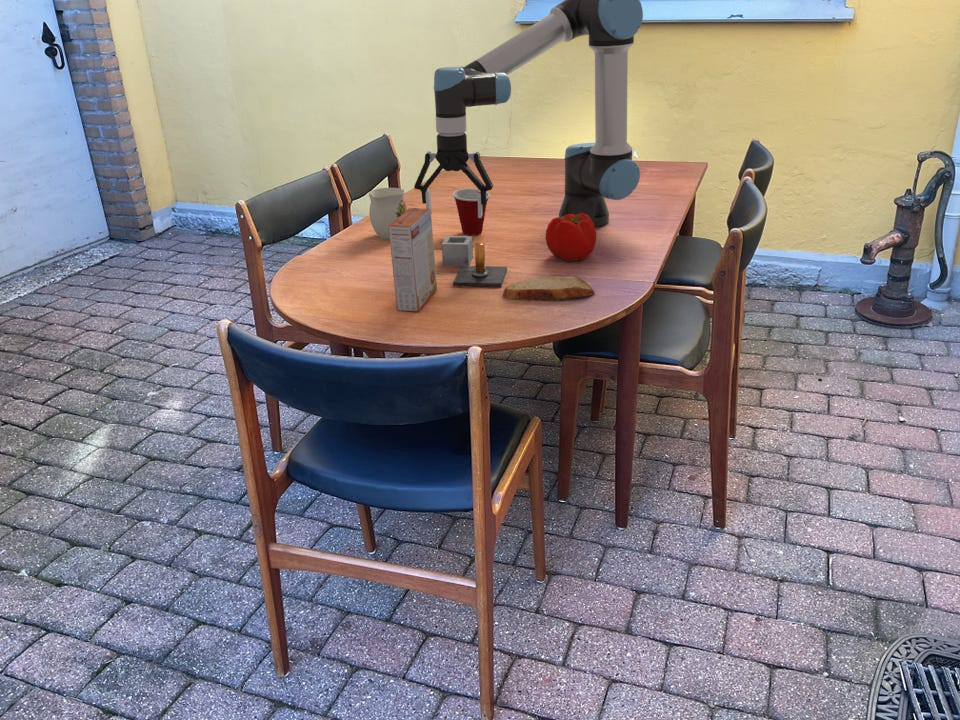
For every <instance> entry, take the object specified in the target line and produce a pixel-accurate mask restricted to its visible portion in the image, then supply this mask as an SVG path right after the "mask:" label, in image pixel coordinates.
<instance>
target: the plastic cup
mask: <svg viewBox="0 0 960 720" xmlns="http://www.w3.org/2000/svg"><path fill="white" fill-rule="evenodd" d="M478 192H479V189H478V188H462V189H458V190H454V191H453V192H452V195H453V196H452V197H453V198H454V201H455V204H456V208H457V213H458V219H459V223H460V226H461V227H460V228H461V232H462V234H463V235H464V236H472V237H473V236H479V235H481V234H482V233H483V229H484V222H485V216H486V215H485V214H486V209H487V205H488V203H487V202H488V201H489V198H490V197H491V194H490V193H489V192H488V191H486V203H485V205H482V210H483V215H482V217H481V218H478Z"/></svg>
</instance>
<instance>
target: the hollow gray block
mask: <svg viewBox="0 0 960 720" xmlns="http://www.w3.org/2000/svg"><path fill="white" fill-rule="evenodd" d="M473 246H474V245H473V235H472V236H471V235H446V236H445V238H444V239H443V241H442V243H441V255H442V257H441V259H442V266H443V267H445V266H446V267H448V266H449V267H461V266H471V265H470V264H471V262H472V261H473V259H474V250H473V248H474V247H473Z"/></svg>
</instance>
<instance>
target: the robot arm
mask: <svg viewBox="0 0 960 720" xmlns="http://www.w3.org/2000/svg"><path fill="white" fill-rule="evenodd" d="M643 11H644V10H643V7H642V3H641V0H563V1H562V2H560V3H559V4H557V5H555V6H554V7H551V9H550V11H549V15H547V16H545V17H542V18H541V19H540V20H539V21H537V22H535V23H534V24H532V25H530V26H529V27H527V28H526V29H524V30H522V31H521V32H519V33H517V34H516V35H514V36H512V37H511V38H509V39H508V40H506V41H505V42H503V43H501V44H500V45H498V46H497V47H495V48H493V49H491V50H490V51H488V52H486V53H485V54H483V55H482V56H480V57H479V58H477V59H475V60H473V61H472V62H470V63H468V64H467V65H464V66H447V67H446V66H445V67H438V68H437V69H436V70H435V71H434V73H433V91H434V103H435V105H434V106H435V107H434V108H435V129H436V131H435V132H437V135H436V151H437V152H436V153H433V152H431V151H427V152H426V153H425V154H424V163H423V165H422V167H421V169H420V172H419V174H418V177H417V179H416V181H415V184H414V185H413V186H414V187H413V188H414V190H419V191H420V192H421V202H422V204H425V207H426V208H425V209H431V215H432V214H433V213H432V193H431V189H428V188H429V187H430V186H431V185H432V183H433V182H434V181H435V180H436V178H437V177H438V175H439V174H441V171H443V170H444V171H446V172H452V171H453V172H459V171H461V172H462V173H464V174H465V175H466V176H467V178H469V180H470V181H471V182H472V184H474V186H475V187H476V189H478V190H479V192H478V218H481V217H482V215H483V210H482V205H485V203H486V192H488V191H491V190H492V189H493V187H494V184H493V181H492V180H491V178H490V176H489V173H488V172H487V170H486V168H485V166H484V164H483V162H482V160H481V155H480V152H479V151H476V152H473V153H469V152H468V141H467V138H468V137H467V136H468V135H467V134H466V133H465V132H467V108H470V107H480V106H491V105H495V106H497V105H499V104H500V105H501V104H505V103H507V102H509V100H510V98H511V96H512V95H511V94H512V83H511V80H510V77H509V76H508V75H510V74H512V73H513V72H515V71H516V70H518V69H520V68H522V66H524V65H526V64H527V63H529V62H531V61H533V60H535V59H536V58H537V57H539V56H541V55H542V54H544V53H546V52H547V51H549V50H551V49H552V48H554V47H556V46H557V45H558V44H560V43H562V42H564V43H569V42H571V41H572V40H574V39H576V38H579V37H582V36H588V47H589V48H590V49H591V50H592V51H593V52H594V106H595V107H594V109H595V110H594V111H595V112H594V117H595V118H594V119H595V120H594V121H595V122H594V127H595V128H594V129H595V133H594V134H595V137H594V138H595V142H583V143H575V144H571V145H569V146H567V147H566V149H565V153H564V196H563V197H564V198H563V201H562V202H561V206H560V209H559V212H558V217H559V218H561V217H563V216H565V215H567V214H575V215H577V214H578V215H579V214H580V213H584V214H587V215H589V217H590V219H591V220H592V221H593V222H594V226H595V228H596V227H597V228H598V227H601V226H605V225H606V224H609V221H610V213H609V208H608V205H607V202H606V199H608V200H612V201H614V200H615V201H620V200H623V199H626V198H627V197H629V196H631V194H632V193H633V192H634V191H635V190H636V188H637V187H638V185H639V182H640V178H641V169H640V167H639V165H638V164H637V162H635V160H633V147H632V146H631V145H630V144H629V143H628V74H629V73H628V72H629V71H628V70H629V69H628V65H629V63H628V60H629V53H628V52H629V49H631V47H632V46H633V45H634V42H635V35H636V34H637V33H638V32H639V29H640V28H641V26H642V22H643V20H644V19H643V18H644V12H643ZM469 159H470V160H471V162H472V163H474V166H475V168H476V170H477V172H478V174H479V176H480V177H481V179H482V180H480V178H479V177H478V176H477V175H476V173H475V172H474V171H473V170H472V168H471V167H470V165H469V164H468V163H467V162H468V161H469ZM434 160H436V161H437V162H438V164H439V165H438V167H437V168H436V169H435V171H434V172H433V173H432V174H431V175H430V177H429V178H428V179H427V181H426V182H425V183H424V184H423V181H424V180H425V177H426V174H427V172H428V170H429V168H430V165H431V163H432V162H433V161H434ZM605 198H606V199H605Z"/></svg>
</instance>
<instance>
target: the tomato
mask: <svg viewBox="0 0 960 720" xmlns="http://www.w3.org/2000/svg"><path fill="white" fill-rule="evenodd" d="M596 242H597V228H596V227H595V226H594V222H593V221H592V220H591V219H590V217H589V215H587V214H584V213H580V214H579V215H578V214H577V215H575V214H567V215H565V216H563V217H561V218H559V216H557V217H554V218H552V219H551V220H550V222H549V223H548V224H547V227H546V230H545V243H546V246H547V248H548V250H549V251H550V252H551V254H552V255H554V256H555V257H557V258H558V259H563V260H565V261H567V262H573V261H581V260H584V259H586V258H588V257H589V256H590V255H591V254H592V253H593V252H594V250H595V248H596Z"/></svg>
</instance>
